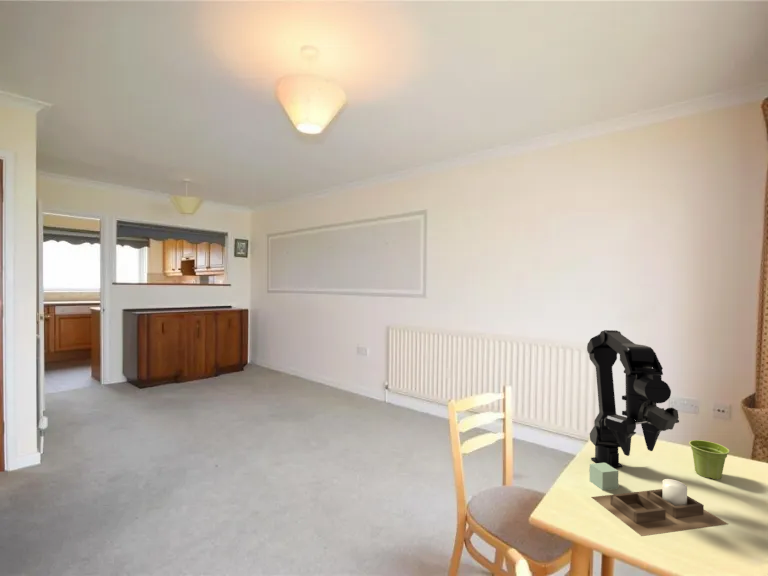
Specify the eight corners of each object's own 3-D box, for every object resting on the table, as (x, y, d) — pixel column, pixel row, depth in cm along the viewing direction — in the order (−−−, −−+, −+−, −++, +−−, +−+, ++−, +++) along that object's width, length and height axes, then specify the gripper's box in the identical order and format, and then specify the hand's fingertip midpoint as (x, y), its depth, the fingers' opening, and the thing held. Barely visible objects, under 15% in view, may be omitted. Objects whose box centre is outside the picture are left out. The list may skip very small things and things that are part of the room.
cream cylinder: (657, 502, 101) (657, 479, 100) (673, 500, 102) (673, 478, 101) (675, 514, 96) (675, 490, 96) (692, 512, 97) (692, 488, 96)
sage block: (589, 484, 112) (589, 463, 112) (604, 483, 113) (605, 462, 112) (602, 494, 107) (602, 472, 107) (618, 492, 108) (618, 470, 108)
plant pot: (737, 480, 114) (737, 450, 114) (714, 484, 112) (714, 454, 111) (703, 465, 123) (703, 438, 123) (681, 469, 121) (681, 441, 120)
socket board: (591, 500, 103) (591, 487, 103) (667, 491, 108) (667, 479, 108) (641, 540, 88) (641, 524, 87) (728, 528, 92) (728, 513, 92)
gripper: (645, 404, 92) (645, 470, 92) (693, 397, 100) (694, 459, 99) (602, 393, 103) (603, 453, 102) (649, 388, 110) (650, 444, 109)
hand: (638, 452), depth 103 cm, fingers open, 9 cm apart
